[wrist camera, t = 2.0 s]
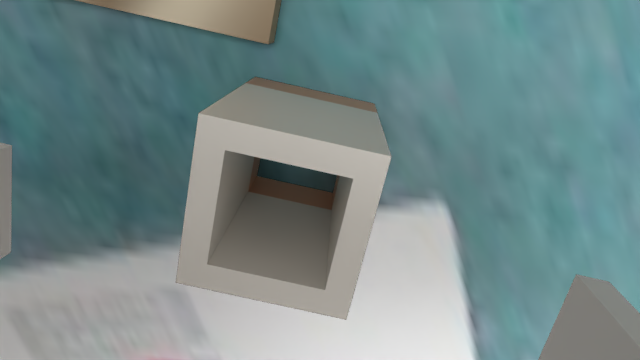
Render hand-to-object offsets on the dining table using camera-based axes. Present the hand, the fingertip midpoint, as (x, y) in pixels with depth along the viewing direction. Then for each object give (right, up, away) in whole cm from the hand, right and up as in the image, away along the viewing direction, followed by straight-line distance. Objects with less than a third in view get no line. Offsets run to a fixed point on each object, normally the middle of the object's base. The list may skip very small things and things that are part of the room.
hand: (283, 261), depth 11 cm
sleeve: (0, +3, +9) cm, 10 cm away
